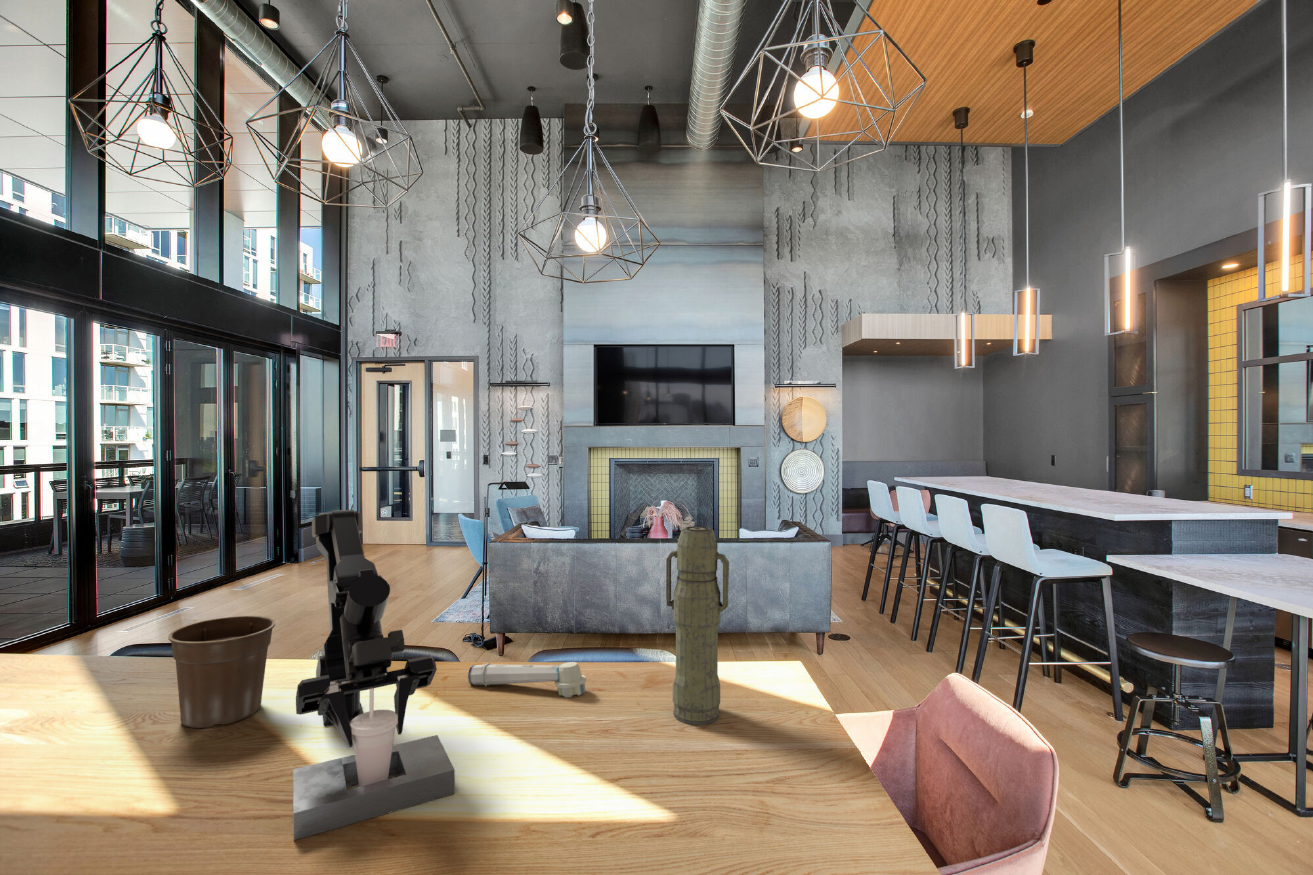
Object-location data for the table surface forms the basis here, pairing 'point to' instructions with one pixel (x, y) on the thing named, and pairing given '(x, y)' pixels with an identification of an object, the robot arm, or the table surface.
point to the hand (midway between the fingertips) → (375, 739)
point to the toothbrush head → (531, 676)
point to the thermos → (697, 624)
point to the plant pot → (221, 668)
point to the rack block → (369, 787)
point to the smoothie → (373, 743)
